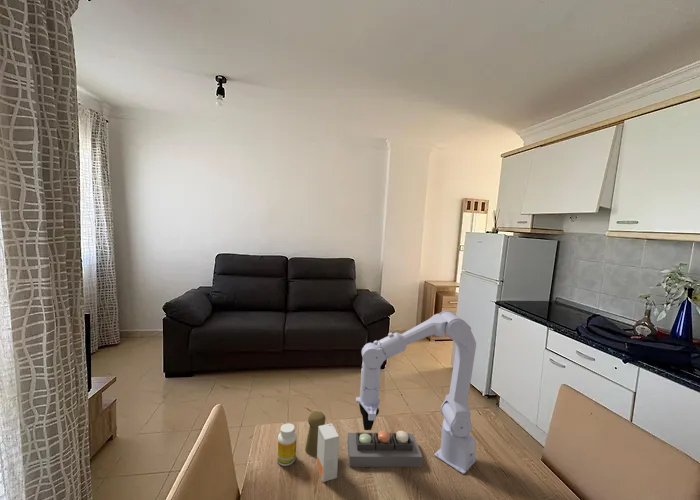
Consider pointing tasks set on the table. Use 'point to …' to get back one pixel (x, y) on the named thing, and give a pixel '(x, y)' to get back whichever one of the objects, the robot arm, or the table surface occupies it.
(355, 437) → the charcoal button panel
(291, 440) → the supplement bottle
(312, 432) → the olive pepper mill
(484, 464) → the table surface
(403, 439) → the cream button
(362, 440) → the sage button
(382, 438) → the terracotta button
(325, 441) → the skincare box
